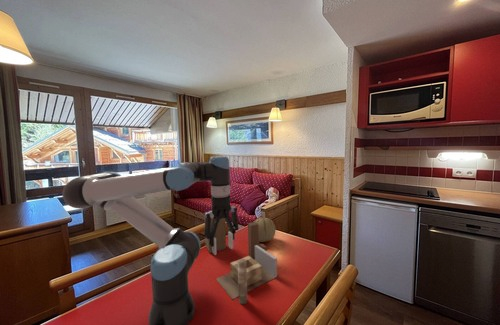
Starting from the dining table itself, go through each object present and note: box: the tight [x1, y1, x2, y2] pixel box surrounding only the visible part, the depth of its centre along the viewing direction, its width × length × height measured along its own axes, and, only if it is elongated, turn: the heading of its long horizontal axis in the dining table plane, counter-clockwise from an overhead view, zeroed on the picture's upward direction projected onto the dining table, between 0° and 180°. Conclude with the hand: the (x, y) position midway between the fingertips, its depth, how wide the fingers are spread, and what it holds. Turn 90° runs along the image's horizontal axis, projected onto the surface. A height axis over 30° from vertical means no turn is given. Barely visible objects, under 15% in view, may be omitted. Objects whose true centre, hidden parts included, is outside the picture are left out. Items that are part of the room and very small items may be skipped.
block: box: [203, 214, 227, 254], centre depth 119 cm, size 10×10×20 cm
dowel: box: [237, 258, 248, 305], centre depth 78 cm, size 3×3×16 cm
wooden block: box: [247, 221, 268, 259], centre depth 111 cm, size 9×4×18 cm, turn 112°
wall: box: [254, 245, 278, 279], centre depth 98 cm, size 2×15×9 cm, turn 34°
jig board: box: [215, 268, 279, 300], centre depth 93 cm, size 24×15×1 cm, turn 124°
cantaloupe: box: [254, 215, 276, 243], centre depth 127 cm, size 15×15×15 cm
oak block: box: [230, 255, 262, 287], centre depth 91 cm, size 10×10×6 cm
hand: (222, 250), depth 84 cm, fingers open, 7 cm apart
